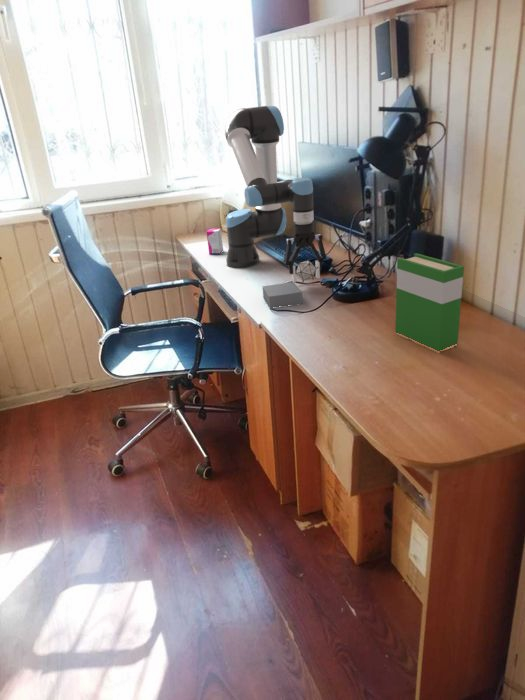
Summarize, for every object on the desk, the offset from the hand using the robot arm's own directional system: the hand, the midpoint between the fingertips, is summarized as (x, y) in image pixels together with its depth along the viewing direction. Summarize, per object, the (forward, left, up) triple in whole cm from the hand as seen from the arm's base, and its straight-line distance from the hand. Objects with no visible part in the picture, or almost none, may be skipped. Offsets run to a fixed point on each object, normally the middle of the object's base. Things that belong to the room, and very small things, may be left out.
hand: (305, 279), depth 212 cm
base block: (+10, -13, -3) cm, 17 cm away
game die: (0, 0, -1) cm, 1 cm away
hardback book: (+61, +16, -3) cm, 64 cm away
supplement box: (-69, -23, -3) cm, 72 cm away
